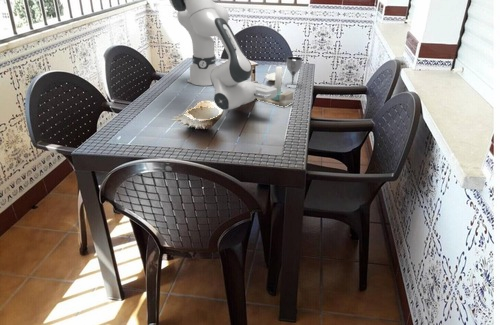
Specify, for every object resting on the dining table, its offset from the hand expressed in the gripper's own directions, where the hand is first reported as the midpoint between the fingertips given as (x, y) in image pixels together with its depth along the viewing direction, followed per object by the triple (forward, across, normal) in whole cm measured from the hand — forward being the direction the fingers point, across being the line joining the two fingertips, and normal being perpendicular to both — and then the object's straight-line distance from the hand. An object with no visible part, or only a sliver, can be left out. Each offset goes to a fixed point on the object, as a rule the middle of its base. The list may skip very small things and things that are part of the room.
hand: (265, 85), depth 179 cm
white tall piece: (+10, 0, +8) cm, 13 cm away
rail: (+10, +4, +11) cm, 15 cm away
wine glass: (+38, +9, +11) cm, 41 cm away
